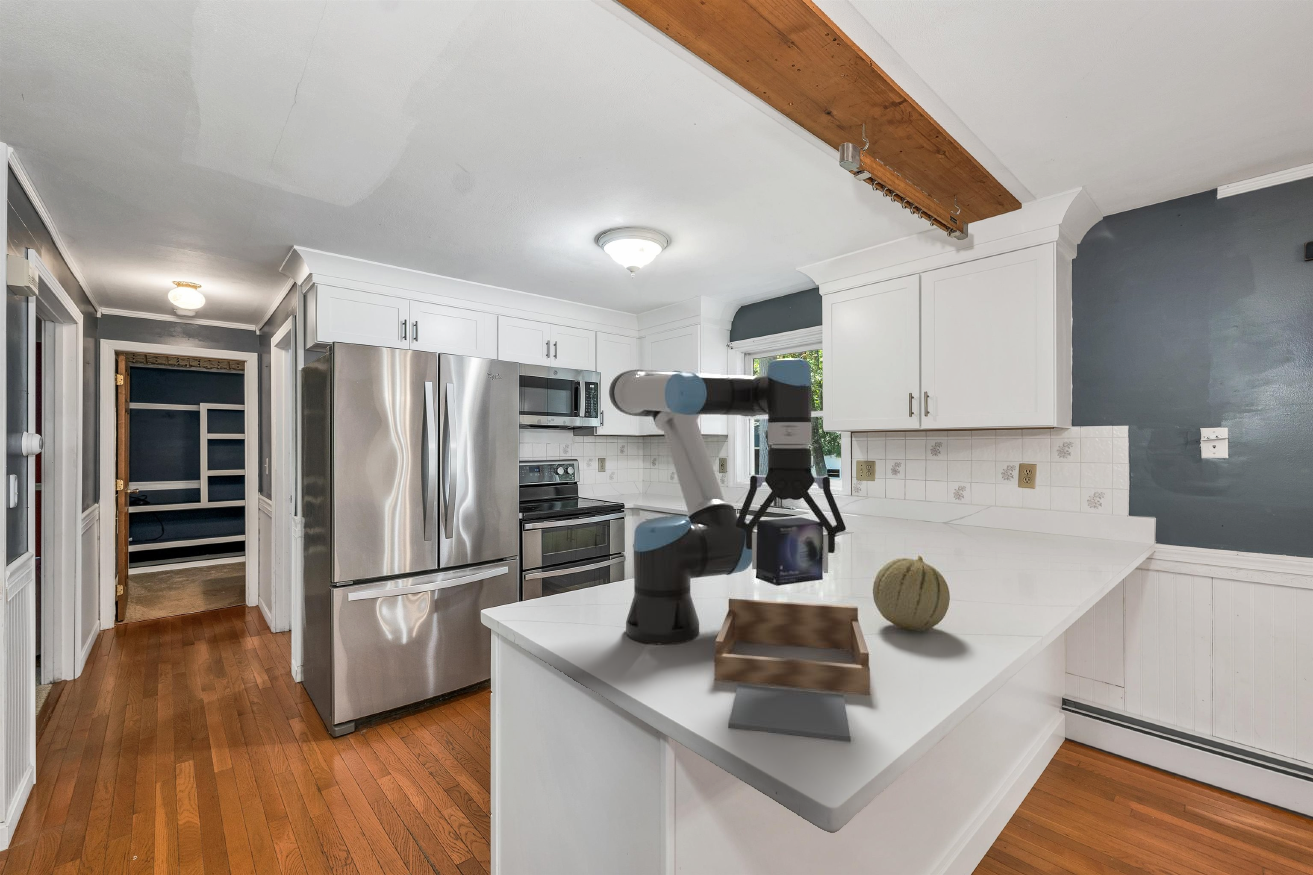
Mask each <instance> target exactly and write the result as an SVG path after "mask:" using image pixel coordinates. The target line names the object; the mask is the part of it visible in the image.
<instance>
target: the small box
mask: <svg viewBox="0 0 1313 875" xmlns="http://www.w3.org/2000/svg"><path fill="white" fill-rule="evenodd" d="M756 530H757V557H756V561H757V562H756V569H755V579H758V580H760V581H763V582H766V583H768V584H771V585H773V586H777V587H779V586H785V585H794V584H800V583H801V584H802V583H807V582H815V581H822V580H823V579H824V577H823V575H824V572H823V533H824V527H823V525H822V524H821V523H820V521H819V520H818V521H817V520H813V519H809V518H805V517H789V518H788V517H787V518H775V519H763V520H762V519H760V520H759V521H757V524H756Z"/></svg>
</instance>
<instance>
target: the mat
mask: <svg viewBox="0 0 1313 875" xmlns="http://www.w3.org/2000/svg"><path fill="white" fill-rule="evenodd" d="M845 701H846V700H845V698H844V694H843V693H835V692H833V693H831V692H821V691H811V690H804V689H802V690H799V689H792V688H783V687H782V688H781V687H779V688H778V687H769V686H762V685H761V686H760V685H748V684H737V687H736V692H735V695H734V699H733V703H732V708H731V711H730V715H729V719H728V723H727V725H728V728H733V729H740V730H748V731H757V732H758V731H760V732H767V733H768V732H769V733H778V734H783V735H793V736H803V737H809V738H819V739H826V740H827V739H829V740H838V741H844V742H851V732H850V731H851V730H850V726H849V721H848V720H849V719H848V714H847V708H846V703H845Z"/></svg>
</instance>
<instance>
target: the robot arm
mask: <svg viewBox="0 0 1313 875" xmlns="http://www.w3.org/2000/svg"><path fill="white" fill-rule="evenodd" d="M811 370H812V369H811V364H810V362H809V361H808V360H806V359H802V358H779V359H774V360H771V361H770V362H769V363H768V366H767V372H766V374H764V375H754V376H752V375H734V374H730V375H729V374H711V373H696V372H688V371H687V372H684V371H680V370H674V371H665V370H651V369H650V370H649V369H630V370H625V371H623V372H620V373H619V374H617V376H615V377H614V378H613V379H612V381H611V383H610V385H609V389H608V396H609V400H610V403H611V404H612V405H613V407H614V408H615V410H617V411H619V412H620V413H623V414H625V415H628V416H633V417H649V418H650V417H651V418H653V419H652V420H653V422H654V425H655V427H656V429H657V430H660V431H661V432H663V433H664V438H665V441H666V444H667V446H668V451H669V454H670V456H671V461H672V463H673V467H674V470H675V474H676V476H677V480H678V485H679V486H680V490H681V493H682V496H683V499H684V502H685V506H686V510H687V513H688V514H687V515H686V516H684V515H671V516H666V515H665V516H659V517H653V518H649V519H647V520H644V521H641V522H640V523H638V524H637V525H636V527H635V529H634V536H633V537H634V538H633V544H632V547H633V570H634V571H633V579H634V580H633V584H634V586H633V588H634V592H633V596H632V597H633V599H632V600H631V601H632V602H631V604H630V607H629V609H628V610H629V611H628V613H627V617H626V620H625V634H626V636H627V637H629V638H630V639H631V640H634V641H637V642H639V643H645V644H655V645H671V644H672V645H673V644H679V643H684V642H688V641H691V640H693V639H695V638H696V637H698V636H699V634H700V620H699V616H698V614H697V610H696V607H695V605H694V602H693V599H692V595H691V579H697V578H705V577H707V578H708V577H715V576H723V575H727V576H730V575H732V574H735V573H736V574H738V573H742V572H745V570H747V569H748V568H749V567H750V566H751V569H752V570H756V562H757V561H756V557H757V529H754V528H755V527H757V521H759V520H762V518H763V516H764V514H765V513H766V512H767V511H768V510H769V509H770V507H771V505H772V504H773V503H774V501H775V500H776V499H779V500H789V499H790V500H794V501H799V500H801V499H802V500H803V501H804V502H805V503H806V505H807V506H808V507H809V509H810V510H811V512H812V513H813V514H814V516H815V517H816V519H817V520H818V521H819V522H820V523H821V524H822V525H823V529H825V531H826V532H823V574H829V554H834V553H835V551H836V535H837V534H838V533H841V532H846V529H847V526H846V524H845V522H844V520H843V518H842V515H841V512H840V510H839V508H838V505H837V503H836V501H835V498H834V496H833V493H832V491H831V479H830V476H828V475H824V476H814V475H813V473H812V450H811V448H809V446H810V445H811V444H812V386H813V381H812V371H811ZM701 415H705V416H707V415H720V416H742V417H756V416H767V444H768V445H770V448H768V450H767V473H766V475H756V474H752V475H751V476H750V478H749V489H748V492H747V494H746V496H745V499H744V502H743V505H742V507H741V509H740V511H739V515H737V512H736V509H735V506H734V505H733V504H731V503H729V502H726V501H725V498H724V496H723V493H722V490H721V487H720V484H719V482H718V478H717V475H716V473H715V470H714V467H713V464H712V461H711V457H710V455H709V452H708V448H707V446H706V444H705V443H706V442H705V440H704V439H703V437H704V436H703V434H702V432H701V429H700V426H699V422H698V421H697V420H698V419H699V417H700V416H701ZM763 483H766V485H767V486H768V488H769V489H770V493H769V494H768V496H767V497H766V499H765V500H764V501H763V503H762V504H761V506H760V507H759V508H758V509H757V511H756V512H755V514H754V515H753V516H752V518H751V519H750V520H748V519H747V516H748V514H749V512H750V508H751V506H752V503H753V501H754V498H755V497H756V493H757V491H758V488H761V487H762V485H763ZM814 484H816V485H817V486H818V488H819V489H820V490H822V491H823V494H824V497H825V499H826V501H827V504H828V506H829V509H830V511H831V513H832V516H833V518H834V520H835V524H834V525H832V523H831V522H830V520H829V519H828V517H827V516H826V515H825V514H824V512H823V511H822V510H821V508H820V507H819V506H818V504H817V502H816V501H815V500H814V499H813V497H812V496H811V494H810V493H809V491H810V489H811V487H812V486H813V485H814Z"/></svg>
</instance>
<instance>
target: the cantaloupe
mask: <svg viewBox="0 0 1313 875" xmlns="http://www.w3.org/2000/svg"><path fill="white" fill-rule="evenodd" d="M872 596H873V601H874V605H875V606H876V609H877V610H878V612H879V614H881V616H882V617H883V619H885V620H886V621H887V622H890V623H891V624H893V625H894V626H896V627H898V628H900V629H901V630H902V629H903V630H905V631H906V630H908V631H914V632H918V631H919V632H920V631H925V630H926V631H927V630H929V629H931V628H934V627H936V626H937V625H939V624H940V622H942V620H943V619H944V618H945V617H946V615H947V612H948V610H949V607H950V600H951V597H950V596H951V595H950V590H949V586H948V583H947V581H946V579H945V577H944V576H943V575H942V573H940V571H939V570H937V569H936V568H935V567H934V566H933V565H930V564H928V563H926V562H925V561H924V559H923V557H922V556H921V555H918V557H917V559H913V558H907V557H906V558H905V557H902V558H900V557H899V558H896V559H893V560H891V561H889V562H887V563H886V564H885V565H883V567H882V568H880V570H878V571H877V574H876V576H875V578H874V581H873V586H872Z"/></svg>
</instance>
